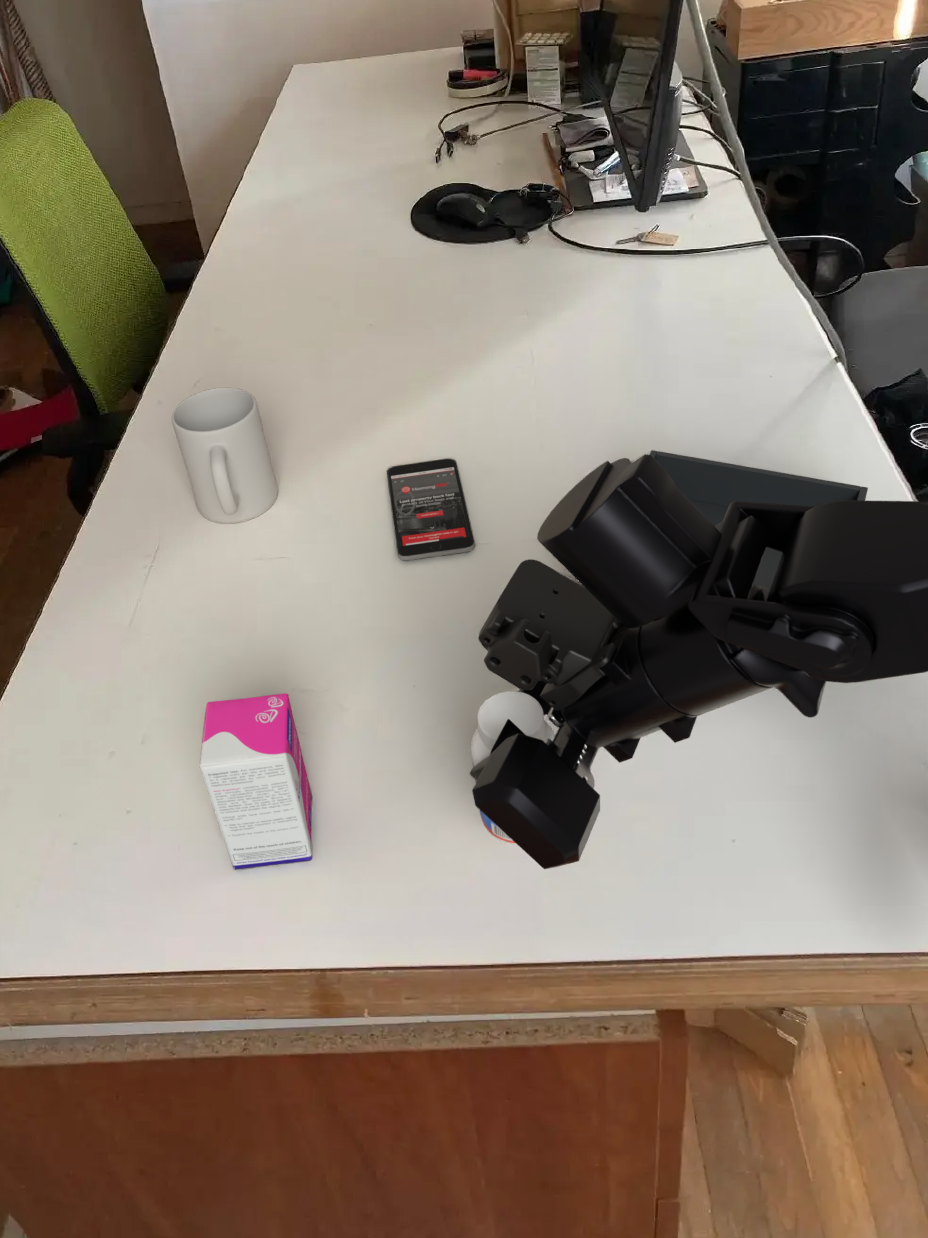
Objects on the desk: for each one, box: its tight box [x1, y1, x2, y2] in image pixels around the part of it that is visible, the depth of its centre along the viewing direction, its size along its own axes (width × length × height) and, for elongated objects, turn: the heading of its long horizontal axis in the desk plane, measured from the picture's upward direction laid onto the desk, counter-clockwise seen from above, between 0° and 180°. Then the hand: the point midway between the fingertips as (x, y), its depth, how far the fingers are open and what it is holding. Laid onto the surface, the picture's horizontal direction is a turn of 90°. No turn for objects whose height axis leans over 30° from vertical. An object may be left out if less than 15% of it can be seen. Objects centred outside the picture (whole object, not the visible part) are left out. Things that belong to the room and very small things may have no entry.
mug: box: [171, 387, 279, 525], centre depth 101 cm, size 12×8×11 cm
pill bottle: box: [470, 690, 556, 846], centre depth 64 cm, size 6×5×10 cm
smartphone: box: [386, 457, 476, 561], centre depth 101 cm, size 7×1×15 cm
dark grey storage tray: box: [648, 449, 869, 591], centre depth 88 cm, size 19×19×5 cm
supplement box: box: [199, 692, 313, 871], centre depth 70 cm, size 6×6×12 cm
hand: (494, 742), depth 63 cm, fingers closed on pill bottle, 5 cm apart
